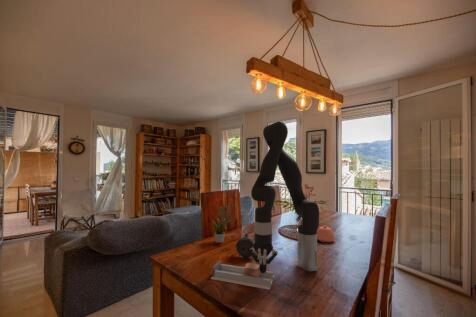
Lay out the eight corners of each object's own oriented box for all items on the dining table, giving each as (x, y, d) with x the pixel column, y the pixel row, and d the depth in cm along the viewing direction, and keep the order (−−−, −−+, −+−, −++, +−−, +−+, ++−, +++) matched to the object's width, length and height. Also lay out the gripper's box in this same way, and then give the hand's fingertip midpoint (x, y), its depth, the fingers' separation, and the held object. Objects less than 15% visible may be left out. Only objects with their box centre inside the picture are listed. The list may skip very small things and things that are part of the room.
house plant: (232, 238, 153) (232, 215, 154) (232, 245, 139) (232, 219, 140) (211, 238, 153) (211, 215, 153) (209, 245, 139) (209, 219, 139)
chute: (274, 277, 99) (274, 266, 99) (269, 292, 87) (269, 279, 88) (221, 269, 107) (221, 258, 107) (210, 280, 96) (210, 269, 96)
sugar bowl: (338, 244, 145) (337, 228, 145) (316, 243, 145) (316, 228, 145) (330, 238, 157) (330, 223, 157) (310, 237, 157) (310, 223, 158)
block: (260, 276, 97) (260, 264, 98) (257, 281, 93) (257, 269, 93) (247, 274, 99) (247, 262, 99) (244, 279, 94) (244, 267, 95)
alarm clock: (256, 257, 121) (256, 228, 121) (254, 261, 116) (255, 230, 116) (237, 255, 124) (237, 226, 124) (235, 259, 118) (235, 229, 119)
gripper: (279, 230, 97) (279, 270, 96) (250, 228, 101) (250, 266, 100) (277, 235, 89) (277, 279, 89) (246, 232, 94) (245, 274, 93)
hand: (262, 272), depth 94 cm, fingers closed
